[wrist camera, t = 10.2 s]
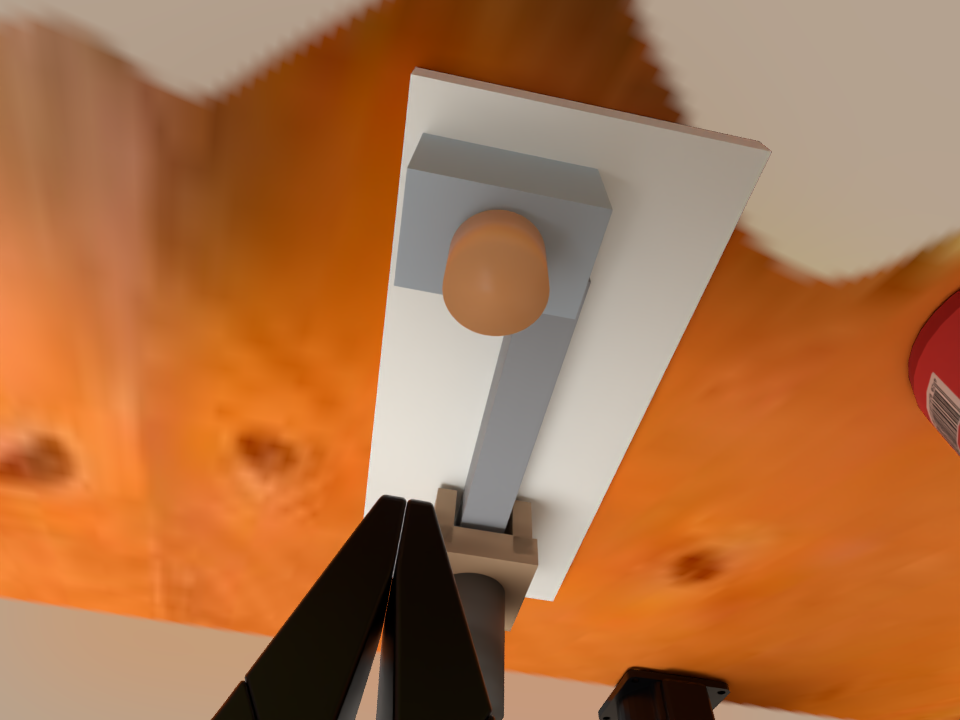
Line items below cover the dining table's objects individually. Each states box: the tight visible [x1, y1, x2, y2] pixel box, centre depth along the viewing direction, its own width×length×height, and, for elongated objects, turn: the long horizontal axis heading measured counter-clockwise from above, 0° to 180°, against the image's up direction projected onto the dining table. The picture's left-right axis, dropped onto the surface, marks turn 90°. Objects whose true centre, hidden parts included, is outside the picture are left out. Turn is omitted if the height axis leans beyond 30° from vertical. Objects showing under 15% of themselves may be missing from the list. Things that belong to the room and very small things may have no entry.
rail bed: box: [364, 67, 772, 601], centre depth 21 cm, size 23×10×4 cm, turn 169°
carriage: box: [434, 488, 538, 720], centre depth 23 cm, size 5×4×8 cm
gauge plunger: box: [442, 210, 550, 336], centre depth 14 cm, size 2×2×2 cm
